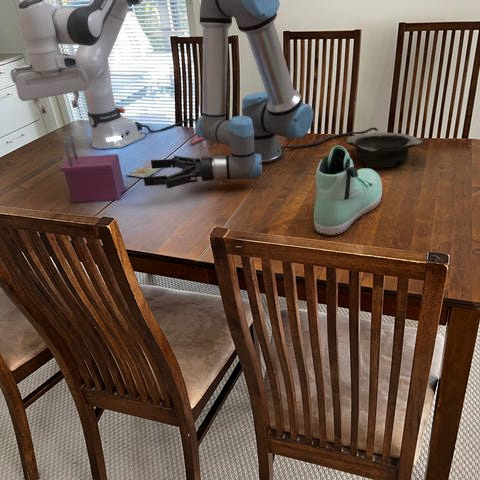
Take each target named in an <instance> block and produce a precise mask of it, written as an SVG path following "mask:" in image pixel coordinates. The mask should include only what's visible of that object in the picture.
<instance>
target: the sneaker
mask: <svg viewBox="0 0 480 480" xmlns="http://www.w3.org/2000/svg"><path fill="white" fill-rule="evenodd" d="M317 165H318V166H317V168H316V172H315V201H314V207H313V225H314V229H315V231H316V232H318V233H320V234H323V235H326V236H327V235H328V236H336V235H339V234H342V233H344V232H345V231H347V230H348V229H349V228H350V227H351V226H352V225H353V224H354V222H356V221H357V220H358V219H359V218H360V217H362V216H363V215H365V214H367V213H370V212H372V210H374V209H375V208H377V207H378V205H380V203H381V200H382V196H383V184H382V183H383V182H382V179H381V176H380V175H379V173H378V172H377V171H376V170H374V169H372V168H369V167H365V168H358V169H357V168H355V167H354V161H353V159H352V158H351V156H350V153H349V152H348V150H347V148H345V147H344V146H342V145H334V146H333V147H331V149H330V151H329V154H327V155H326V156H325V157H324V158H322V159H321V160H320V161H319V163H318V164H317ZM343 230H344V231H343ZM319 231H320V232H319ZM322 232H323V233H322ZM339 232H340V233H339ZM326 233H327V234H326ZM328 233H329V234H328ZM335 233H337V234H335Z"/></svg>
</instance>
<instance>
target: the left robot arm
mask: <svg viewBox="0 0 480 480" xmlns="http://www.w3.org/2000/svg"><path fill="white" fill-rule="evenodd" d="M143 1H144V0H90V1H89V3H88V4H87V5H85V6H79V7H57V6H55V5H51V4H50V3H48V2H47V1H46V0H22V1H21V2H19V4H18V5H17V19H18V23H19V27H20V32H21V35H22V37H23V40H24V41H25V43H26V48H27V49H26V52H27V55H28V59H29V63H30V64H24V65H21V66H14V68H13V69H11V71H10V78H11V80H12V82H13V84H15V87H16V93H17V96H18V100H21V101H22V102H27V101H32V102H33V104H34V105H36V108H38V110H39V112H40V114H41V115H43V114H47V110H46V107H45V105H41V104H40V103H39V101H40V100H39V99H43V98H49V97H56V96H60V95H68V94H73V96H74V99H73V100H71V101H70V103H71V107H72V108H79V103H78V100H79V98H80V92H83V96H84V100H85V104H86V108H87V118H88V122H89V125H90V127H91V128H90V129H91V137H92V138H91V140H92V141H91V147H92V148H94V149H98V150H107V149H121V148H122V149H123V148H124V147H127V146H128V145H131V144H132V143H135V142H137V141H139V140H141V139H143V138H145V137H146V135H145V133H144V132H142V131H143V128H146V129H147V131H148V132H150V133H158V132H163V131H166V130H168V129H172V128H174V127H176V126H179V125H181V124H184V123H186V122H189V121H193V122H197V119H195V118H192V117H191V118H187V119H185V120H182V121H181V120H180V121H178V122H177V123H176V122H175V123H174V124H172V125H168V126H165V127H164V128H160V129H156V130H153V129H151V128H150V126H148V125H146V124H141V123H140V122H138V121H135V122H134V121H133V120H131V119H129V118H127V117H125V116H123V115H122V114H125V112H126V109H125V108H124V107H123V108H122V107H117V106H116V103H115V97H114V93H113V87H112V79H111V71H110V65H109V57H110V55H111V53H112V50H113V48H114V46H115V43H116V41H117V39H118V36H119V34H120V31H121V29H122V27H123V24H124V22H125V20H126V16H127V14H128V12H129V11H128V10H129V7H132V5H133V6H138V5H140V4H141V3H142V2H143ZM60 45H68V46H69V45H72V46H73V45H74V46H75V45H78V47H77V49H76V52H75V54H69V53H62V51H61V47H60Z"/></svg>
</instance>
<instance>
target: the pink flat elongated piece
mask: <svg viewBox="0 0 480 480" xmlns="http://www.w3.org/2000/svg"><path fill="white" fill-rule="evenodd" d="M202 140H204V138H202V137H200V136H199V137H197V138H194V139H192V140H191V141H190V144H191V145H195V144H197V143H199V142H201V141H202Z"/></svg>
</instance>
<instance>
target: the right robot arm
mask: <svg viewBox="0 0 480 480" xmlns="http://www.w3.org/2000/svg"><path fill="white" fill-rule="evenodd" d="M280 5H281V2H280V0H200V6H199V24H200V26H201V27H202V115H201V116H199V117H198V118H197V119H196V123H195V132H196V134H197V135H198V136H199V137H202V138H204V139H205V140H207V141H209V142H214V143H219V144H221V145H225V146H227V147H229V149H230V155H219V156H217V155H216V156H214V157H212V156H206V157H205V156H204V157H203V156H202V157H201V158H200V157H187V156H180V155H174V156H173V157H171V158H165V159H150V160H151V165H152V169H156V168H161V169H171V168H172V169H174V168H177V169H181V171H178V172H175V173H173V174H170V175H168V176H167V175H165V174H164V175H156V176H155V175H153V176H152V175H151V176H149V177H143V183H144V187H149V186H151V187H152V186H166V188H167V189H172V188H175V187H179V186H182V185H187V184H191V183H197V182H198V180H199V179H198V178H201V181H203V182H211V181H212V182H213V181H214V180H216V181H223V182H225V181H226V180H245V179H246V180H249V179H257V178H260V177H262V175H263V165H266V164H271V163H275V162H277V161H279V160H281V158H282V157H283V154H282V153H283V152H282V151H283V150H285V149H286V150H287V149H300V148H308V147H314V146H317V145H320V144H323V143H324V142H326V141H328V140H331V139H335V138H338V137H339V138H340V137H344V136H354V135H359V134H366V133H370V131H373V130H374V132H375V131H376V132H378V131H379V130H378V128H377V127H370V128H368V129H366V130H363V131H362V130H361V131H351V132H343V133H339V134H338V133H337V134H334V135H331V136H328V137H325V138H323V139H321V140H320V141H315V142H312V143H308V144H307V143H306V144H300V145H283V146H281V144H280V142H279V140H278V137H277V136H279V137H283V138H287V139H292V140H300V139H302V138H304V137H305V136H306V135H307V133H309V130H310V128H311V127H312V123H313V121H314V110H313V107H312V106H311V105H310V104H308V103H304V102H303V99H302V94H301V93H300V92H299V91H298V90H296V89H294V88H295V87H294V85H293V81H292V79H291V75H290V72H289V69H288V65H287V61H286V58H285V55H284V51H283V48H282V45H281V41H280V38H279V34H278V31H277V28H276V24H275V20H276V19H277V16H278V11H279V8H280ZM233 18H234V20H235V22H236V25H237V28H238V31H240V32H241V33H244V34H245V35H246V39H247V41H248V44H249V47H250V50H251V52H252V55H253V58H254V61H255V63H256V67H257V70H258V74H259V76H260V78H261V82H262V85H263V87H264V90H265V91H259V92H254V93H249V94H246V95H245V96H244V97H243V98H242V101H241V115H235V116H233V117H231V118H229V119H228V120H227V85H228V82H227V81H228V53H229V52H228V51H229V29H230V27H231V26H233ZM204 139H203V140H204Z"/></svg>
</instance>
